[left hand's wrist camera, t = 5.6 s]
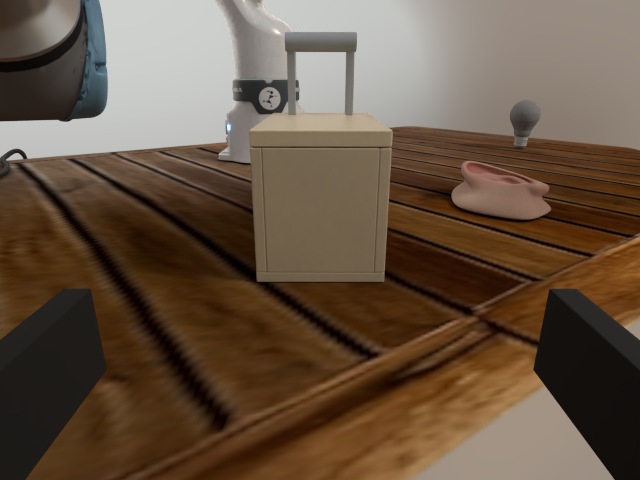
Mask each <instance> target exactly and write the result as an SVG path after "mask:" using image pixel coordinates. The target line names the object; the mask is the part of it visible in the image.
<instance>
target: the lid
mask: <svg viewBox="0 0 640 480" xmlns="http://www.w3.org/2000/svg"><path fill="white" fill-rule="evenodd" d="M356 46H357V33H356V32H285V51H286V52H287V75H288V113H273V114H271V115H270V116H269V117H267V118H266V119H264V120H263V121H262V122H260V123H259V124H258V125H256V126H255V127H253V128H252V129H251V130H249V141H250V147H391V146H392V133H393V132H392V130H391V129H389V128H388V127H386V126H385V125H383V124H382V123H381V122H379V121H378V120H376V119H375V118H374V117H372V116H371V115H369V114H368V113H353V85H354V52H356ZM295 52H346V91H345V113H296V78H295Z"/></svg>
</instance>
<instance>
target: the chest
mask: <svg viewBox="0 0 640 480" xmlns="http://www.w3.org/2000/svg"><path fill="white" fill-rule="evenodd" d="M391 150H392V149H391V148H390V147H251V148H250V160H251V179H252V198H253V217H254V236H255V254H256V271H257V273H256V275H257V282H384V270H385V253H386V236H387V219H388V202H389V185H390V167H391Z"/></svg>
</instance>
